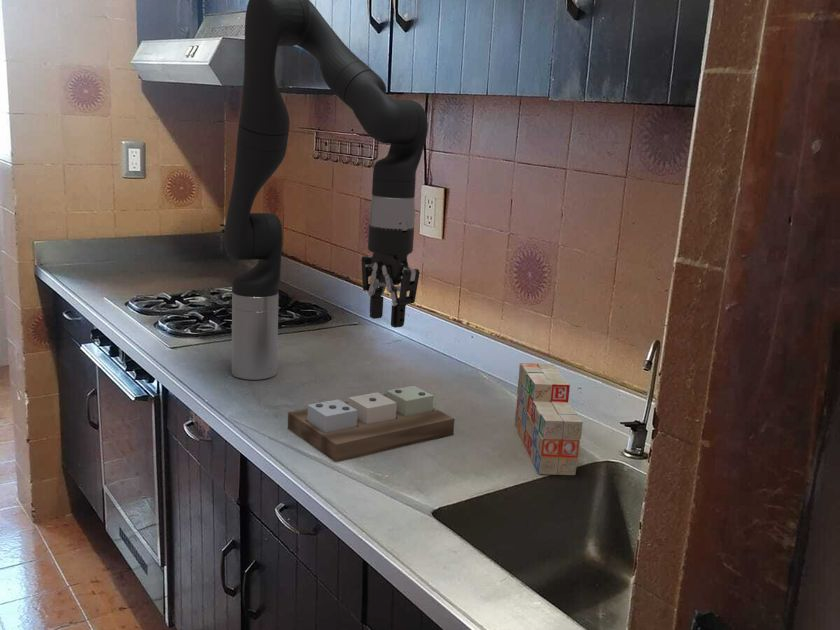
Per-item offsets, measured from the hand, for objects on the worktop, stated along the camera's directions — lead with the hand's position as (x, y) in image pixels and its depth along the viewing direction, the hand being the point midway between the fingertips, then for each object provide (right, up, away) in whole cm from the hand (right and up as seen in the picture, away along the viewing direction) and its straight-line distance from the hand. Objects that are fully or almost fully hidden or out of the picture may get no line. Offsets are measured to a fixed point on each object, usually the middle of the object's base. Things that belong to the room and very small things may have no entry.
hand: (386, 321), depth 137 cm
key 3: (-9, -17, -2) cm, 20 cm away
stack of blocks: (+27, -22, +1) cm, 35 cm away
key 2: (+4, -16, +8) cm, 18 cm away
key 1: (-3, -17, +3) cm, 17 cm away
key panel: (-3, -19, +3) cm, 20 cm away
